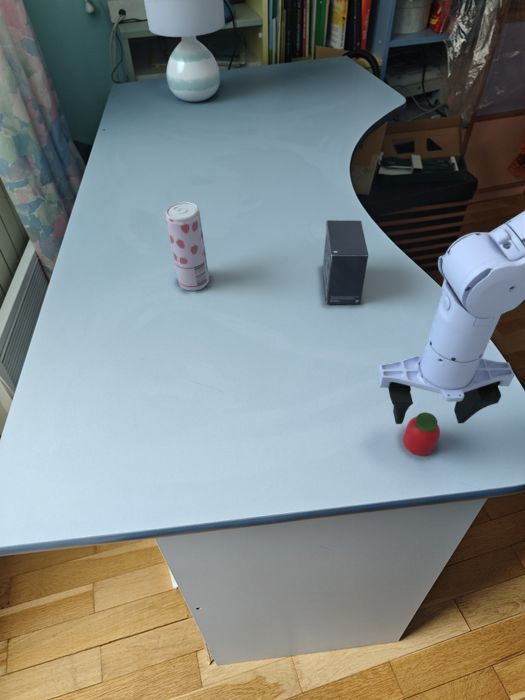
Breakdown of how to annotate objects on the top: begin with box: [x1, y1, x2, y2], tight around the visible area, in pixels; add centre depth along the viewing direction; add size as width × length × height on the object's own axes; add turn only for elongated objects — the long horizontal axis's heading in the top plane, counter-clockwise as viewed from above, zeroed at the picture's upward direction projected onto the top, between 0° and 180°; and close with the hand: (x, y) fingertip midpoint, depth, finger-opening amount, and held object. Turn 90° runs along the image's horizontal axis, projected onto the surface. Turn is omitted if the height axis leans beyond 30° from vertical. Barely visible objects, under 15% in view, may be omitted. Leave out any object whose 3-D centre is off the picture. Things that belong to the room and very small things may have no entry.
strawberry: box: [402, 411, 441, 457], centre depth 63 cm, size 4×4×5 cm
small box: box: [321, 219, 370, 305], centre depth 84 cm, size 11×6×10 cm, turn 179°
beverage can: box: [165, 201, 210, 292], centre depth 84 cm, size 6×6×15 cm
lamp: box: [143, 0, 226, 103], centre depth 138 cm, size 22×22×40 cm
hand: (427, 417), depth 61 cm, fingers open, 7 cm apart
